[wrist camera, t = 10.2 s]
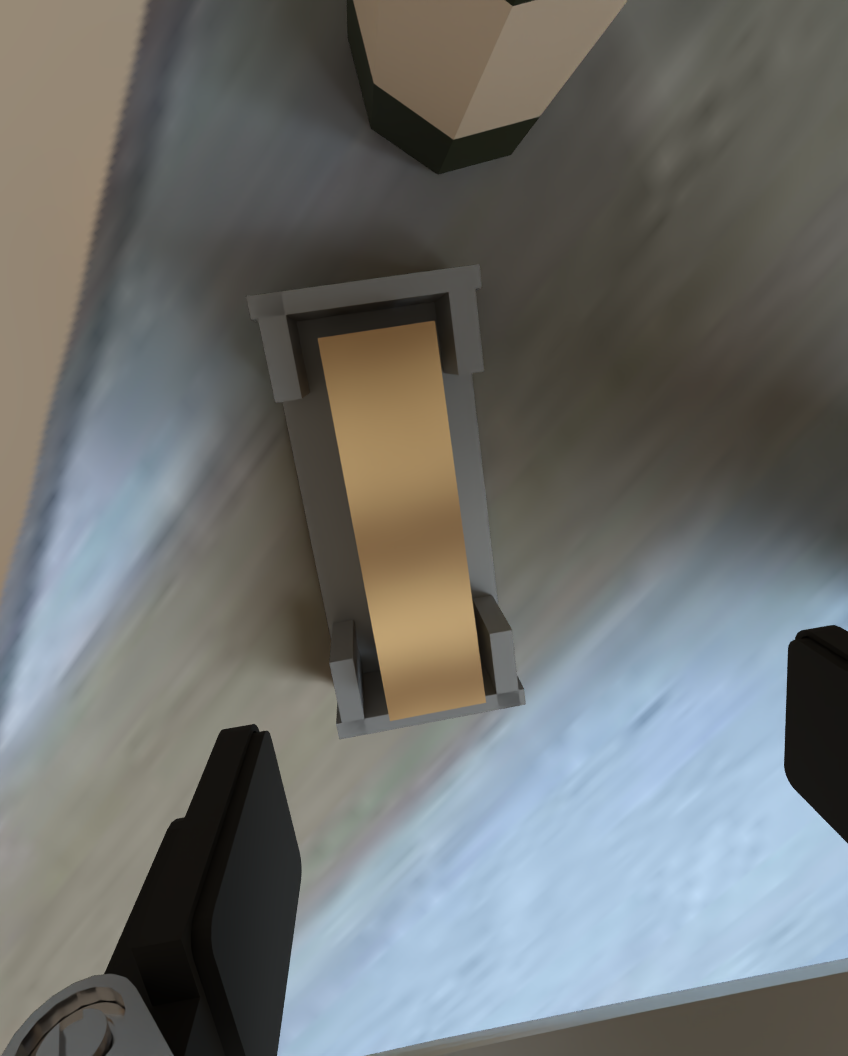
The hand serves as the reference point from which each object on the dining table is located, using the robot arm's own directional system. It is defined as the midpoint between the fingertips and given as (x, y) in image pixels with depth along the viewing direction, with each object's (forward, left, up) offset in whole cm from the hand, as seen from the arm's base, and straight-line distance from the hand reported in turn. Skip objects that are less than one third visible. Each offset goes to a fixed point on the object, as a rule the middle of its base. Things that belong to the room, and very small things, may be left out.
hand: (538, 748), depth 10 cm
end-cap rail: (+1, 0, -19) cm, 19 cm away
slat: (+1, 0, -19) cm, 18 cm away
